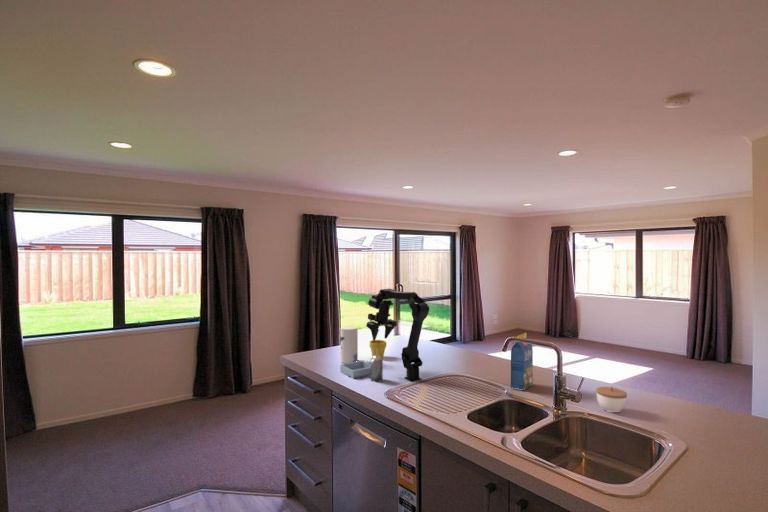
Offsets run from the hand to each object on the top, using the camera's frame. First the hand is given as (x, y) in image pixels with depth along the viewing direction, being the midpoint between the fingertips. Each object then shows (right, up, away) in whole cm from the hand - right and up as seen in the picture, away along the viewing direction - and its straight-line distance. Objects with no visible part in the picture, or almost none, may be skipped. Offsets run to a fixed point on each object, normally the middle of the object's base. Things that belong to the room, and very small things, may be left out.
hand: (379, 339), depth 214 cm
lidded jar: (+94, -17, -56) cm, 111 cm away
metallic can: (-1, -17, -18) cm, 24 cm away
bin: (-11, -17, -6) cm, 21 cm away
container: (-18, -17, +17) cm, 30 cm away
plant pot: (-1, -17, +26) cm, 31 cm away
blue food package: (+68, -17, -28) cm, 75 cm away
